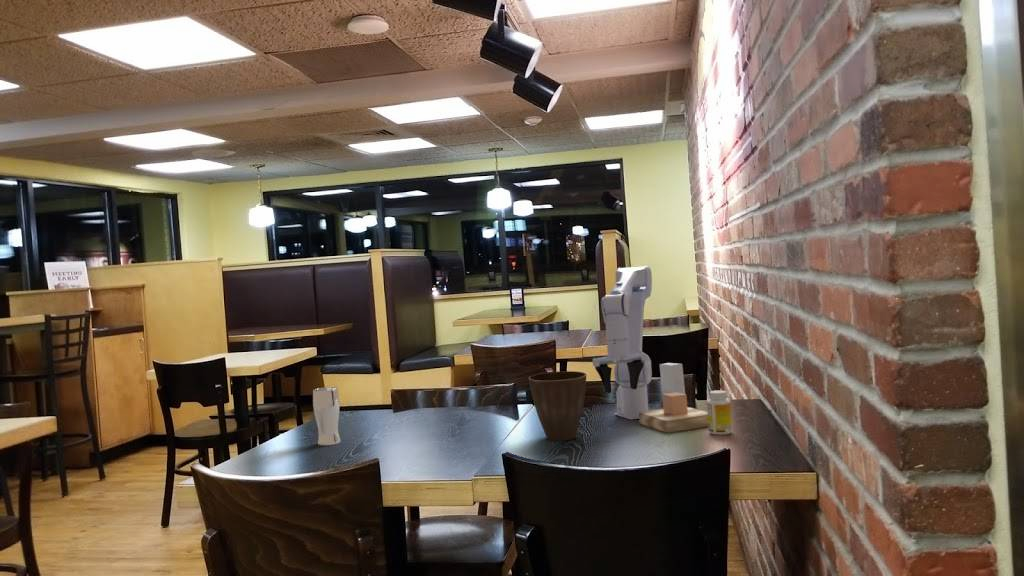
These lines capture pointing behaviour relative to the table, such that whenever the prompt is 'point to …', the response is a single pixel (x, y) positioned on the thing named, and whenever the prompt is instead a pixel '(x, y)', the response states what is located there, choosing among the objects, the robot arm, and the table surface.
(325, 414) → the beer glass
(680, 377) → the skincare box
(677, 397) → the terracotta block
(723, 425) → the supplement bottle
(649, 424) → the maple base
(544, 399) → the plant pot
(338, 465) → the table surface
